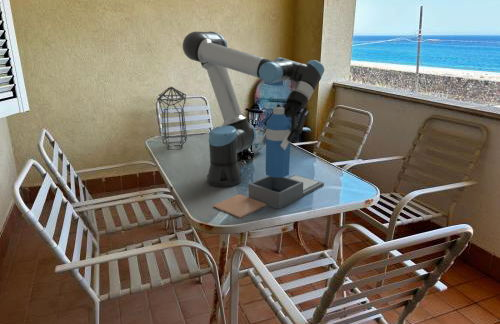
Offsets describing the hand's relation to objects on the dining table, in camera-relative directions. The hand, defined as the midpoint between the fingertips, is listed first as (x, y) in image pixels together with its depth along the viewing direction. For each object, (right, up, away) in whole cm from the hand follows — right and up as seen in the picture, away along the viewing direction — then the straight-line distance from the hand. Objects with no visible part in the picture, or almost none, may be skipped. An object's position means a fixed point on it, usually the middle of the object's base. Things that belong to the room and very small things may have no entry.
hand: (272, 145), depth 131 cm
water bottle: (+2, -11, +6) cm, 12 cm away
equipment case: (+7, -18, +15) cm, 24 cm away
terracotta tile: (-12, -22, +2) cm, 25 cm away
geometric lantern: (-51, +2, +78) cm, 93 cm away
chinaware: (-7, -1, +68) cm, 68 cm away
